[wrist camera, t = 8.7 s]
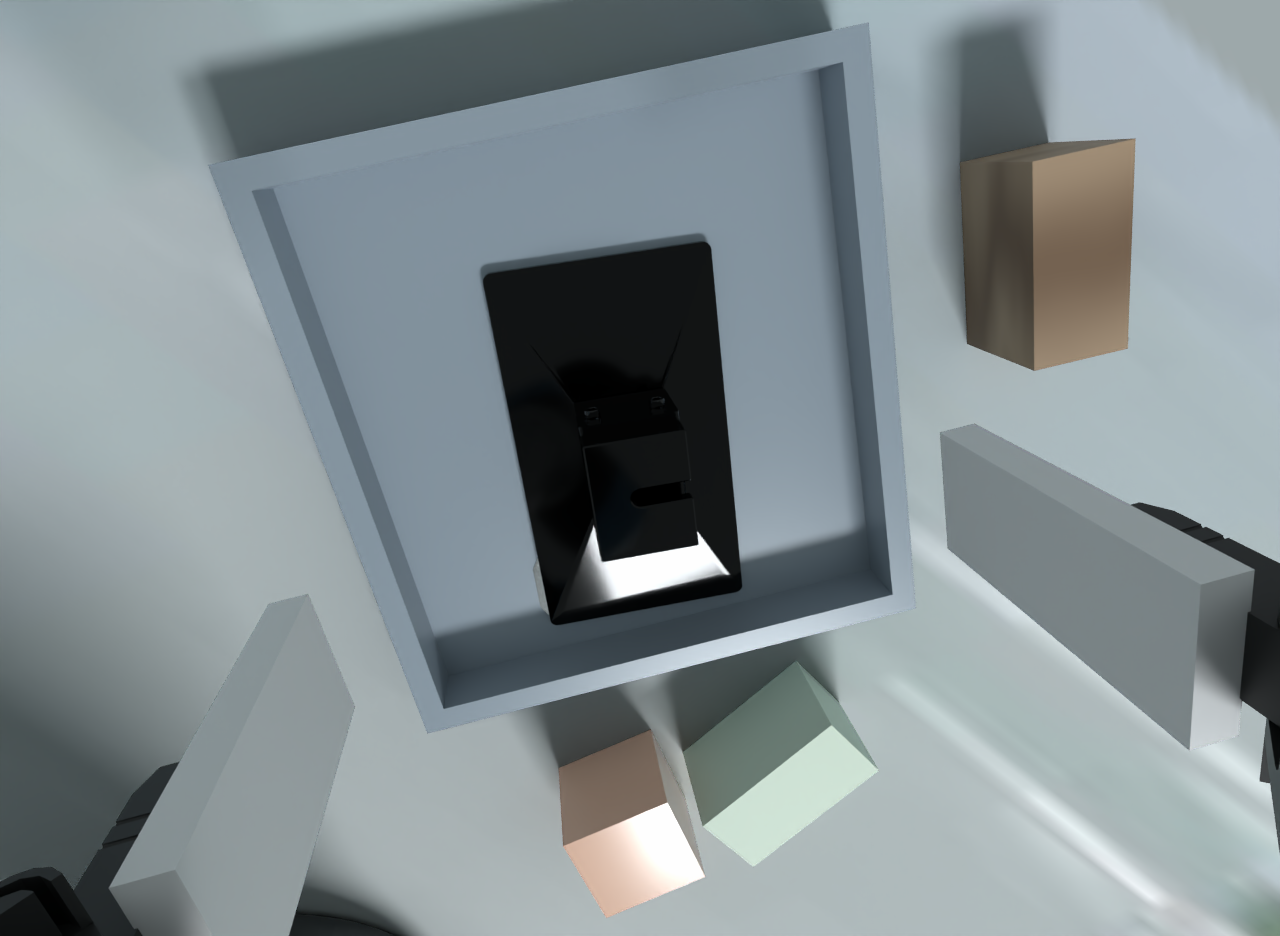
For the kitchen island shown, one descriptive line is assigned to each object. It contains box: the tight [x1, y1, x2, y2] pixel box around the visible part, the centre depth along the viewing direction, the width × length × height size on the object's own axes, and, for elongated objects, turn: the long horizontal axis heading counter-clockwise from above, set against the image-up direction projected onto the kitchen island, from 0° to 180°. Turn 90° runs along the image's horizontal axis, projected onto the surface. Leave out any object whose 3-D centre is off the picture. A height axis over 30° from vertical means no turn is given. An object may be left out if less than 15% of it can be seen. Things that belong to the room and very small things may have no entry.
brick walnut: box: [960, 139, 1135, 371], centre depth 25 cm, size 6×3×4 cm, turn 12°
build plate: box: [483, 241, 742, 625], centre depth 24 cm, size 12×7×5 cm, turn 8°
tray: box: [208, 23, 916, 733], centre depth 25 cm, size 18×19×2 cm
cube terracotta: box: [559, 730, 705, 918], centre depth 31 cm, size 4×4×4 cm
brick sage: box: [683, 661, 879, 867], centre depth 30 cm, size 6×3×4 cm, turn 132°
